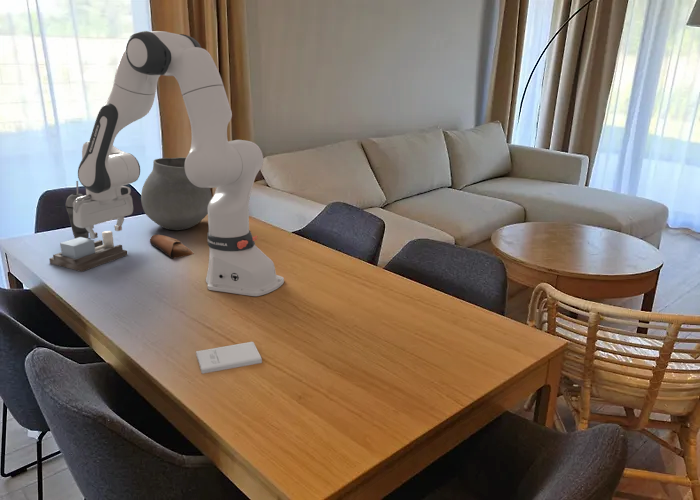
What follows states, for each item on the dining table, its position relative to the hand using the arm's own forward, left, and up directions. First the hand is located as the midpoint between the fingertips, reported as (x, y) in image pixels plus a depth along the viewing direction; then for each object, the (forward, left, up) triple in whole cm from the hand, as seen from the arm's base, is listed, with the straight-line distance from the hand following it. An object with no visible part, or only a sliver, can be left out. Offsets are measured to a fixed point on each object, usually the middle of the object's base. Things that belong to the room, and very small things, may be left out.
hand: (106, 234), depth 180 cm
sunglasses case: (-15, -13, -7) cm, 21 cm away
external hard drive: (-76, +34, -7) cm, 84 cm away
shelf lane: (0, +7, -6) cm, 10 cm away
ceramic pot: (+1, -33, -6) cm, 33 cm away
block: (0, +6, -4) cm, 8 cm away
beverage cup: (+20, -6, -6) cm, 21 cm away
